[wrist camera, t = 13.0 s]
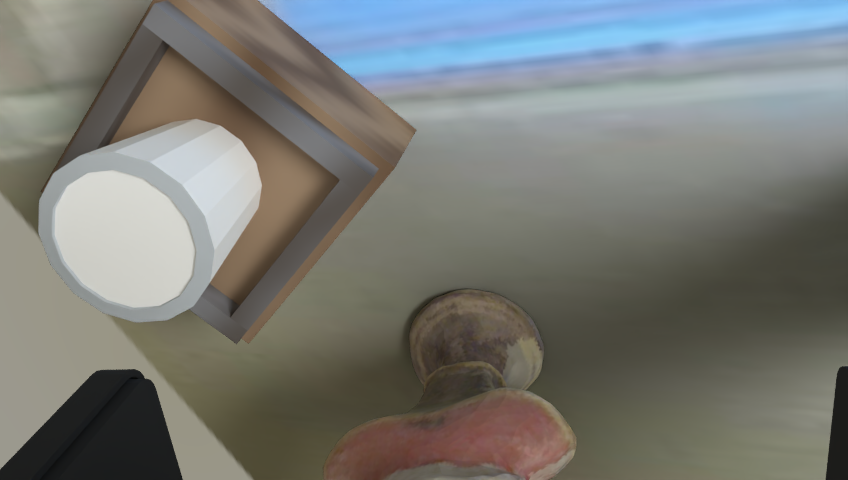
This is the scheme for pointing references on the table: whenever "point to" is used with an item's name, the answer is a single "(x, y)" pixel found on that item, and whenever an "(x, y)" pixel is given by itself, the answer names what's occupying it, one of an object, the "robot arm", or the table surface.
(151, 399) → the robot arm
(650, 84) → the table surface
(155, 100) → the display riser
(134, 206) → the white short cylinder
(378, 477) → the decorative bust
